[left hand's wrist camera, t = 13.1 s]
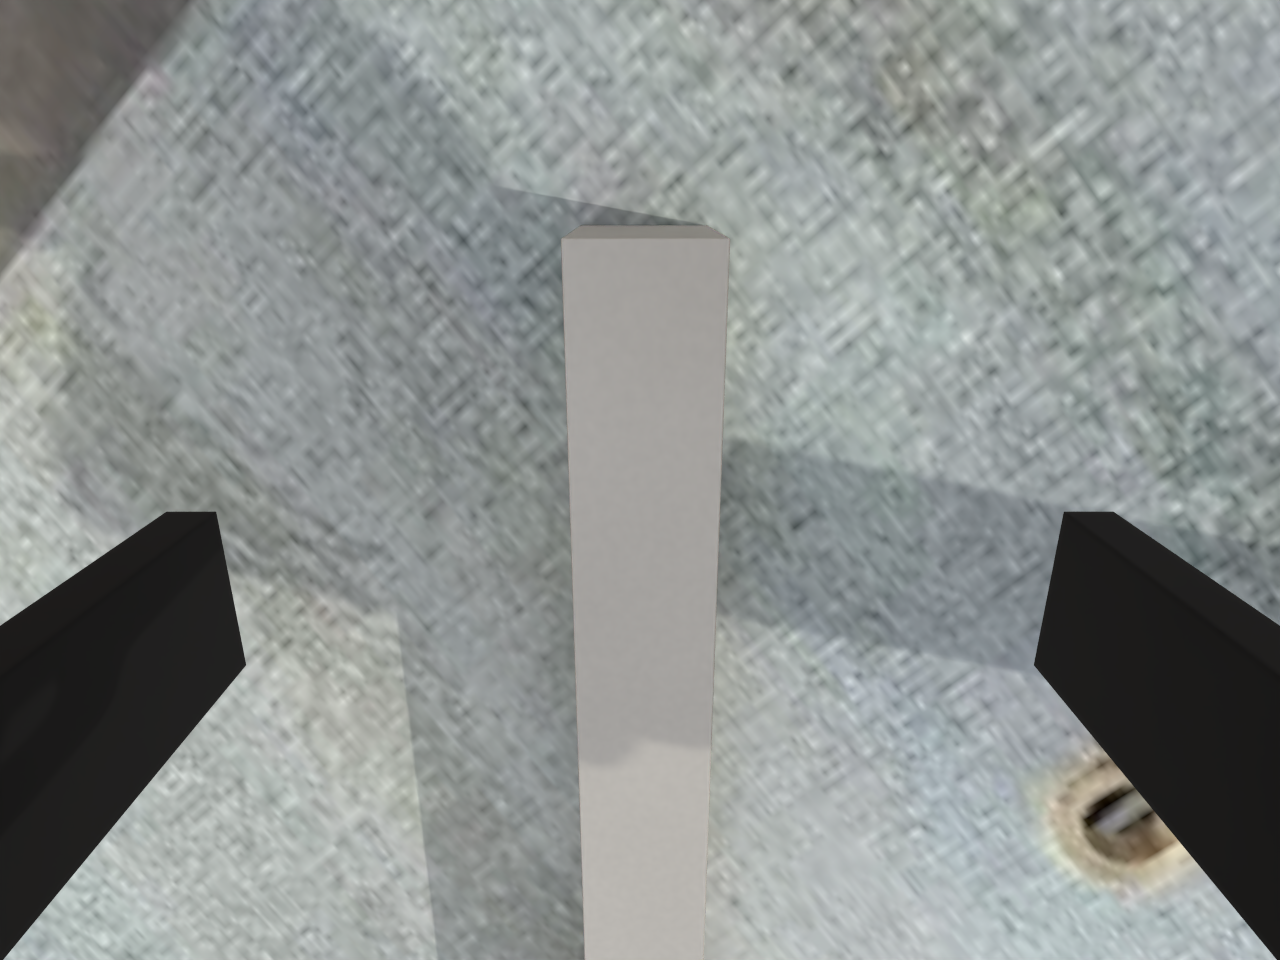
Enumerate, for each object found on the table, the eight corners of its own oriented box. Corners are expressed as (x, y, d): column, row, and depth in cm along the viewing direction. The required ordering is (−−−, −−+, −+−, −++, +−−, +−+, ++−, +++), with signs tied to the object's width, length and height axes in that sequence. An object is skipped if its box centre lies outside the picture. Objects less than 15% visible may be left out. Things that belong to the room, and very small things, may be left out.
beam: (580, 225, 31) (560, 238, 24) (708, 225, 31) (730, 238, 24) (605, 1268, 55) (600, 1445, 47) (679, 1268, 55) (685, 1444, 47)
